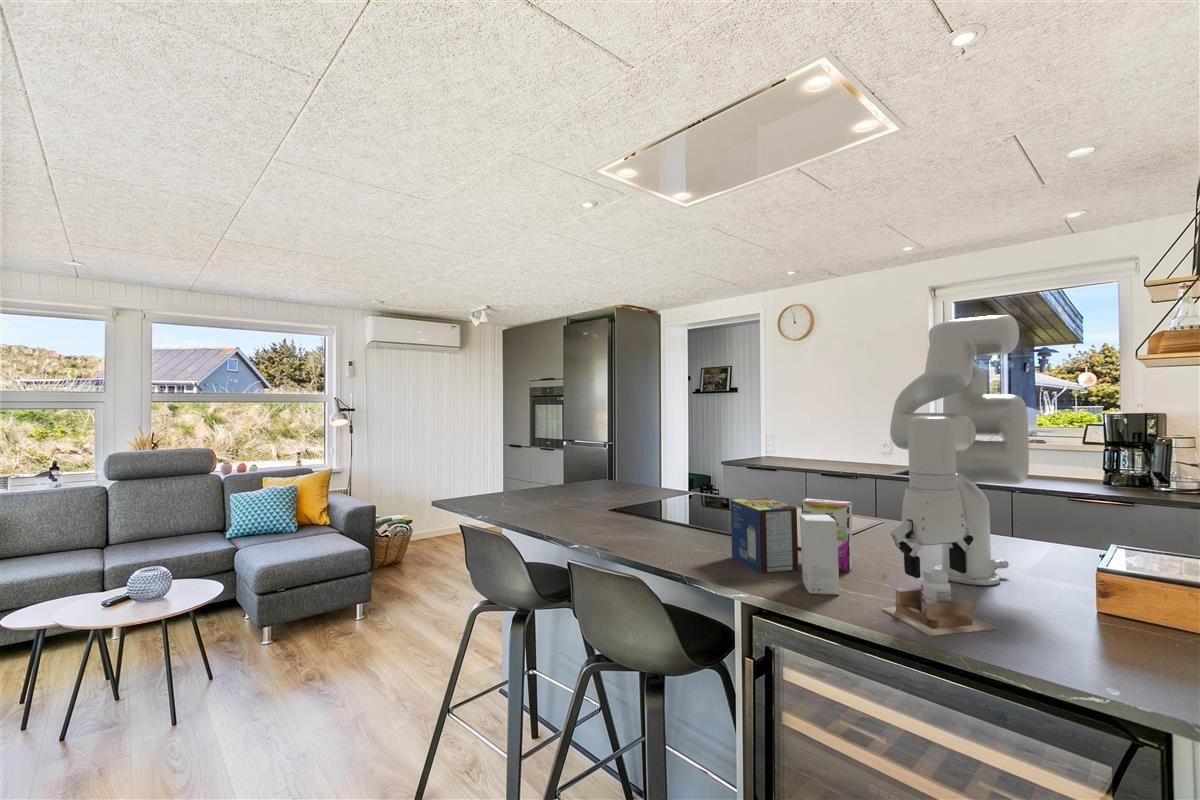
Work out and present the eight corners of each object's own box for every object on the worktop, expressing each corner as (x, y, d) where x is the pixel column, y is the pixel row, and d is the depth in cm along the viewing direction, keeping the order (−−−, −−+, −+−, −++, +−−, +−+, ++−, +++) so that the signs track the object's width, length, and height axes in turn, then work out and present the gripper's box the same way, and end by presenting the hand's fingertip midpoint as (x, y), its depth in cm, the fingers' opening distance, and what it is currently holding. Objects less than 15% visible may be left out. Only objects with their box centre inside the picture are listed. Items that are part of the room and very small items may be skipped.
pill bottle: (915, 612, 101) (914, 567, 101) (939, 611, 102) (938, 567, 102) (933, 622, 97) (932, 575, 97) (957, 621, 97) (956, 574, 97)
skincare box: (840, 596, 112) (838, 521, 112) (806, 594, 113) (805, 520, 114) (831, 583, 120) (829, 513, 121) (800, 581, 122) (798, 513, 122)
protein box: (766, 554, 145) (765, 497, 145) (799, 571, 130) (797, 507, 130) (730, 557, 142) (729, 499, 143) (759, 574, 127) (758, 509, 128)
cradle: (940, 605, 106) (939, 583, 106) (994, 629, 94) (994, 604, 94) (881, 610, 104) (881, 587, 104) (930, 635, 92) (929, 610, 92)
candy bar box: (801, 566, 133) (800, 500, 134) (805, 561, 138) (804, 497, 138) (850, 573, 127) (849, 504, 128) (853, 567, 132) (852, 501, 132)
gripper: (956, 476, 105) (958, 563, 105) (877, 481, 102) (880, 571, 102) (990, 482, 97) (993, 575, 98) (906, 488, 94) (909, 584, 95)
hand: (935, 573), depth 100 cm, fingers open, 9 cm apart
